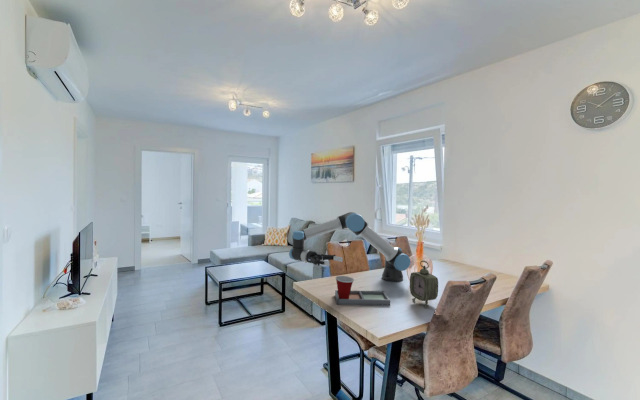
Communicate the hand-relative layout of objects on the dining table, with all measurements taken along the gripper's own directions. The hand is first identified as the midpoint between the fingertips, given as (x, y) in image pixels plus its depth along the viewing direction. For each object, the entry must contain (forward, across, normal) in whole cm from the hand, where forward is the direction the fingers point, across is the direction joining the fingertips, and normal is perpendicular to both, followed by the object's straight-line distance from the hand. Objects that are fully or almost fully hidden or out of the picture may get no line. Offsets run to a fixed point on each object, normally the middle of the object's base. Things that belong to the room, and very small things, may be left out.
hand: (335, 261), depth 184 cm
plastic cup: (+8, +3, -20) cm, 22 cm away
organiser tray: (+15, -5, -21) cm, 27 cm away
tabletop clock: (+45, -23, -22) cm, 56 cm away
